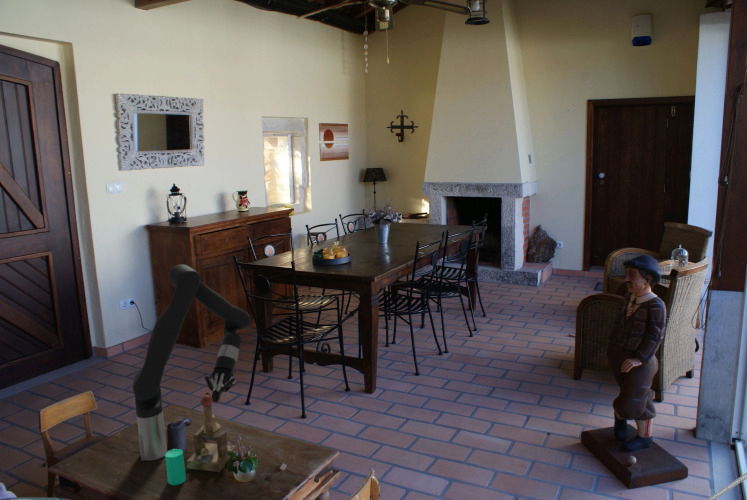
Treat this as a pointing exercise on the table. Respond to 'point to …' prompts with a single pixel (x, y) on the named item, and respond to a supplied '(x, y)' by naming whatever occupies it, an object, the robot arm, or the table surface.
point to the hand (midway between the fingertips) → (214, 401)
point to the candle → (175, 466)
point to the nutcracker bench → (213, 462)
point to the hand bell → (215, 424)
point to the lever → (208, 417)
